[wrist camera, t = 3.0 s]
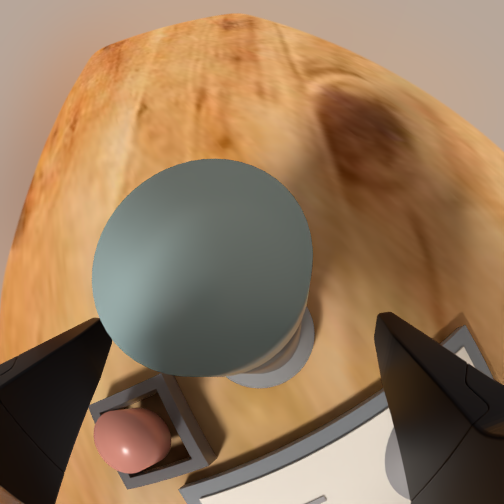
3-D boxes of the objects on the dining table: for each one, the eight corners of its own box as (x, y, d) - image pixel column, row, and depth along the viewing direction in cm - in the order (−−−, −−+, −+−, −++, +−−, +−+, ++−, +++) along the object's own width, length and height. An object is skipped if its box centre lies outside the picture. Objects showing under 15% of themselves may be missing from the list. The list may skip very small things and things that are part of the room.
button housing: (140, 482, 15) (127, 489, 13) (103, 405, 17) (87, 405, 15) (216, 457, 15) (208, 465, 13) (172, 373, 17) (161, 373, 16)
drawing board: (278, 603, 9) (276, 612, 8) (183, 484, 14) (176, 491, 13) (518, 460, 11) (528, 462, 9) (458, 327, 16) (467, 323, 15)
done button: (134, 468, 14) (111, 478, 11) (109, 417, 15) (84, 420, 13) (181, 453, 14) (163, 464, 12) (154, 399, 15) (132, 401, 13)
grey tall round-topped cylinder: (241, 404, 16) (123, 456, 4) (197, 318, 19) (54, 218, 7) (331, 354, 17) (413, 306, 5) (281, 271, 19) (253, 104, 7)
